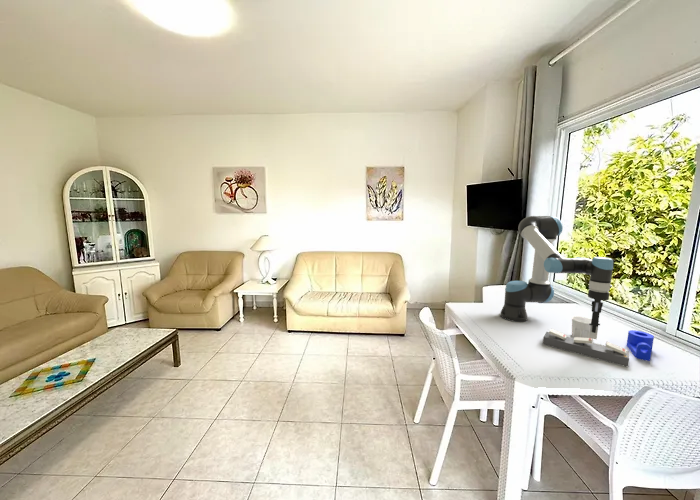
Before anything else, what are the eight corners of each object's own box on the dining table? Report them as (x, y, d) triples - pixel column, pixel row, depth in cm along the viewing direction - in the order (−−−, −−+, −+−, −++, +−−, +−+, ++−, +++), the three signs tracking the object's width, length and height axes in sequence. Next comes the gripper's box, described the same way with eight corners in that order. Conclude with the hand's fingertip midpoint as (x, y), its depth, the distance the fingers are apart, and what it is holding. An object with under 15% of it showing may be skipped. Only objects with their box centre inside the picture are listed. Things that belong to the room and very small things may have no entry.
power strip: (542, 344, 151) (543, 335, 150) (545, 338, 157) (546, 330, 157) (627, 367, 129) (629, 356, 129) (627, 359, 136) (628, 349, 135)
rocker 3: (605, 346, 136) (606, 344, 135) (605, 343, 139) (606, 341, 139) (625, 354, 131) (626, 352, 131) (624, 351, 135) (626, 349, 134)
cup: (588, 335, 162) (590, 317, 161) (597, 342, 153) (599, 324, 152) (567, 332, 166) (569, 315, 164) (574, 339, 156) (576, 322, 155)
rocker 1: (548, 333, 150) (549, 330, 150) (550, 330, 154) (551, 328, 153) (564, 340, 146) (565, 337, 146) (566, 337, 149) (567, 335, 149)
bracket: (625, 342, 154) (627, 328, 153) (650, 347, 148) (652, 333, 147) (629, 356, 139) (631, 341, 138) (656, 363, 133) (659, 347, 132)
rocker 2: (574, 342, 144) (573, 339, 144) (575, 339, 147) (574, 336, 147) (592, 343, 139) (591, 340, 139) (593, 340, 142) (592, 337, 142)
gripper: (609, 294, 130) (602, 345, 133) (609, 289, 139) (603, 336, 143) (587, 291, 135) (581, 340, 138) (589, 286, 144) (584, 331, 148)
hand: (592, 338), depth 140 cm, fingers closed
